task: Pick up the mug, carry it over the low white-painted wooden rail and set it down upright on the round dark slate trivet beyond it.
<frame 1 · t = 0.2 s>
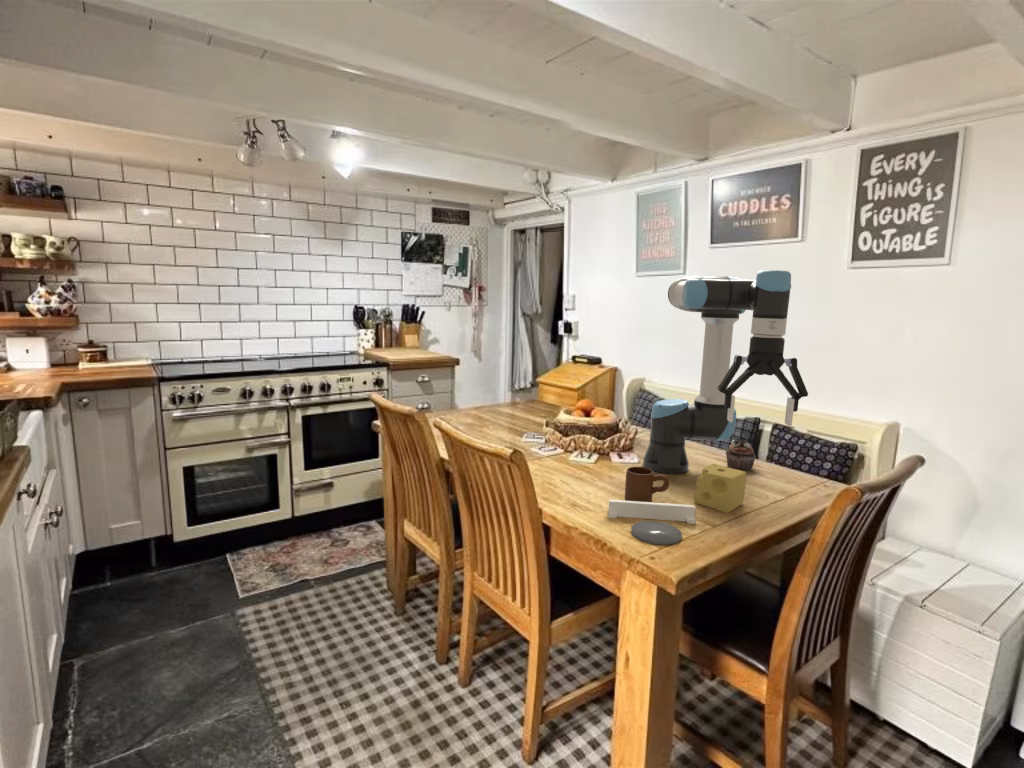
hand: (758, 422, 134), 28 cm above the table, fingers open, 13 cm apart
mug: (645, 504, 153), on the table
rail: (650, 517, 144), on the table
cupcake: (739, 468, 190), on the table
trivet: (656, 533, 134), on the table
cheese: (719, 504, 155), on the table
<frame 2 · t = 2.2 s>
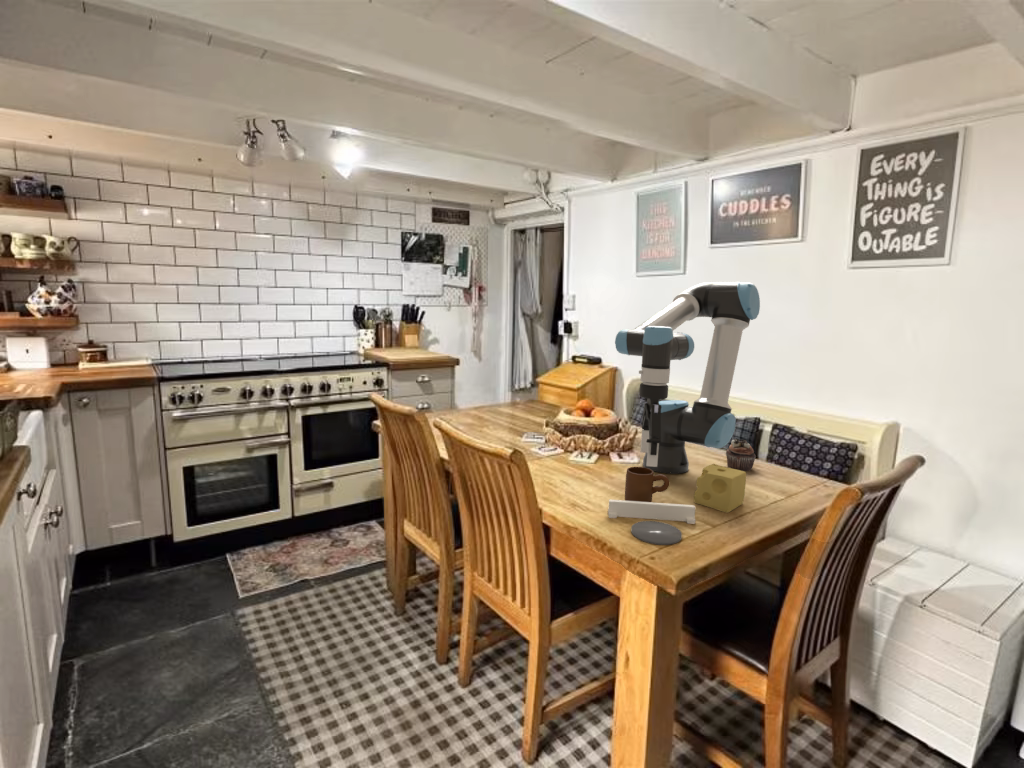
hand: (648, 459, 151), 13 cm above the table, fingers open, 13 cm apart
nothing on the table moved.
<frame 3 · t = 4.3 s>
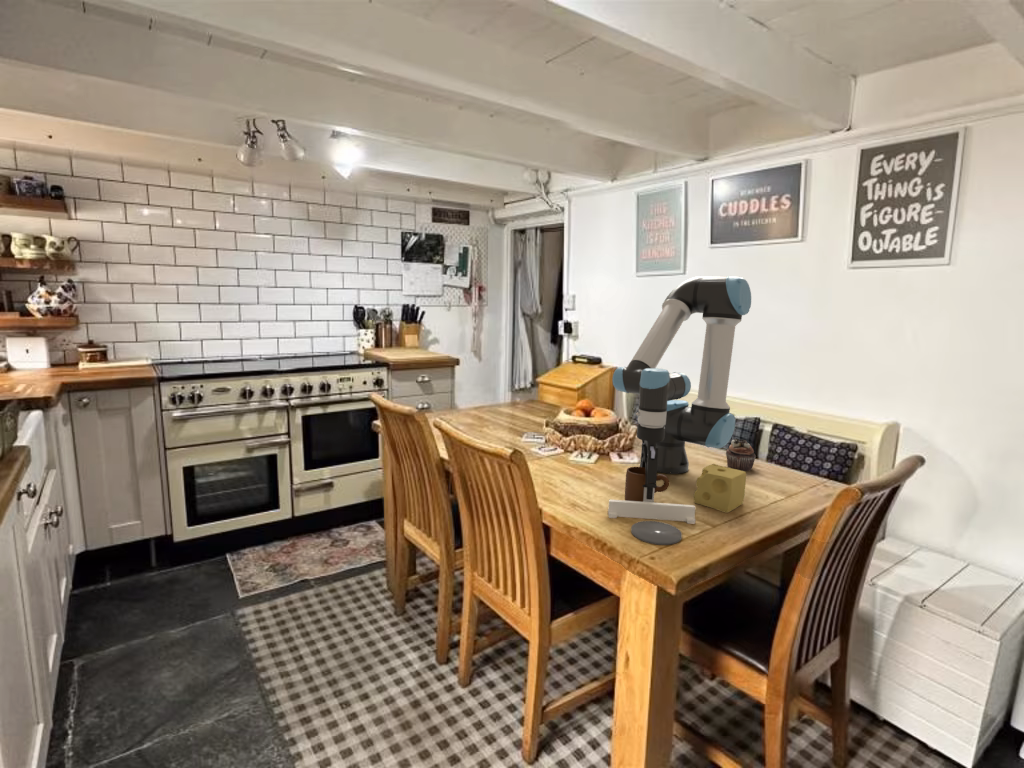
hand: (645, 502, 153), 0 cm above the table, fingers open, 9 cm apart
mug: (645, 504, 153), on the table, touching gripper
everything else where it was.
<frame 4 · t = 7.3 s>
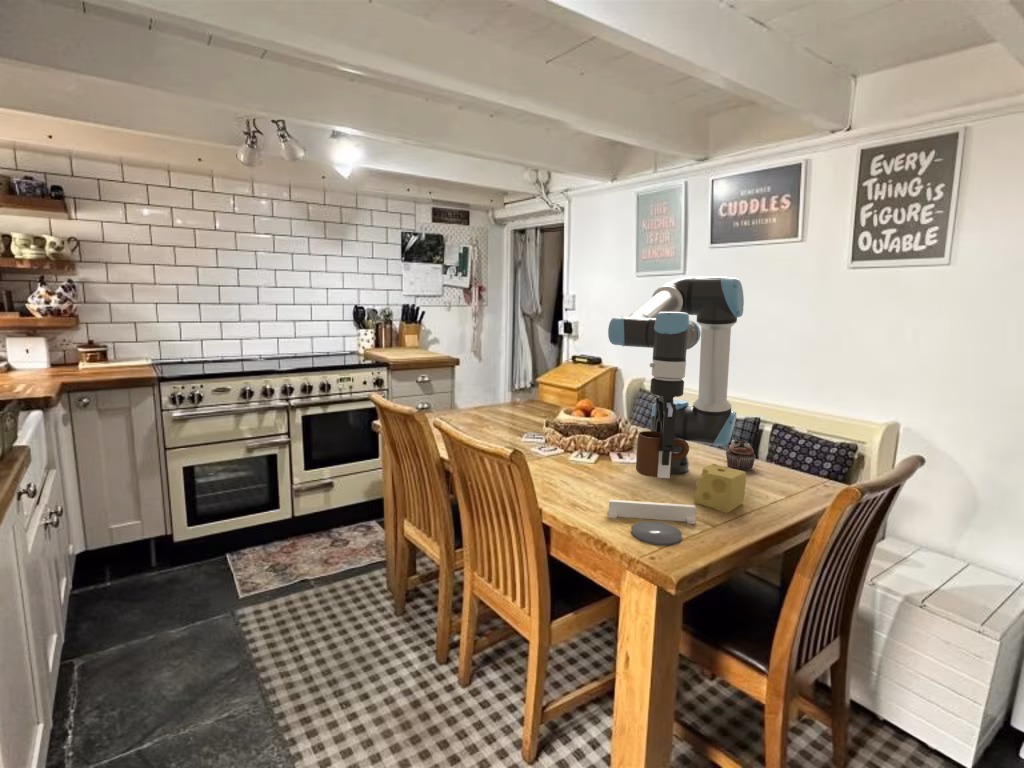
hand: (660, 471, 131), 16 cm above the table, fingers closed on mug, 7 cm apart
mug: (660, 474, 131), point 15 cm above the table, touching gripper
everything else where it was.
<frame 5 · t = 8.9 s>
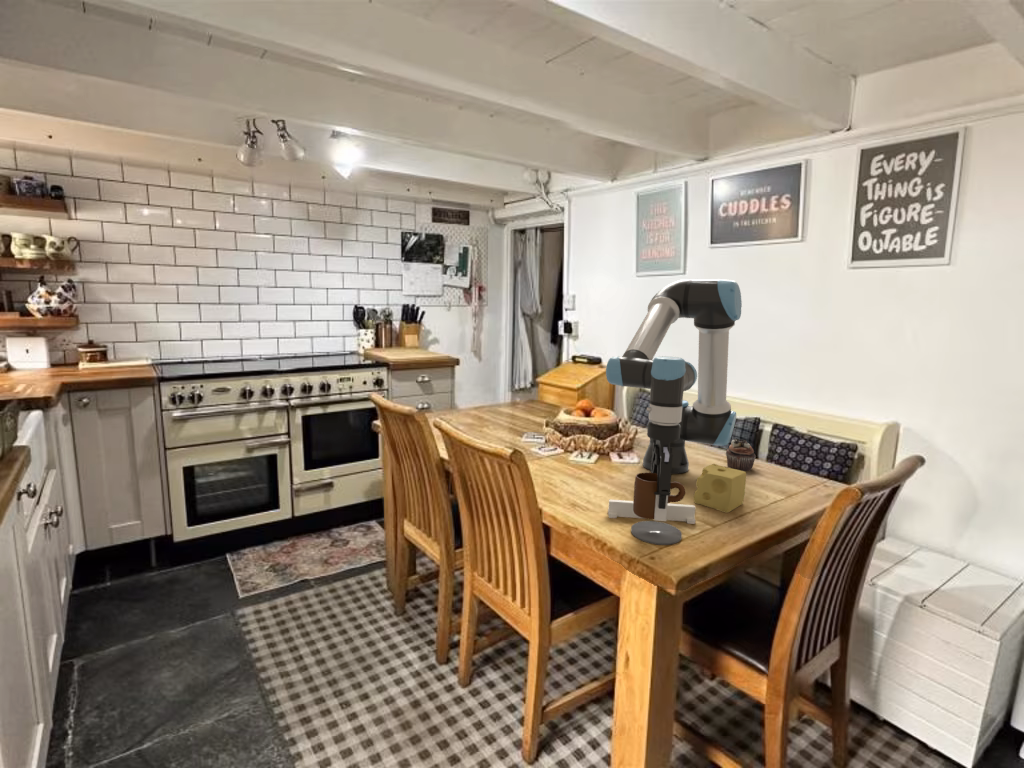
hand: (657, 513, 133), 5 cm above the table, fingers closed on mug, 7 cm apart
mug: (657, 516, 132), point 5 cm above the table, touching gripper
everything else where it was.
when the fingers open (2 cm above the table, at t = 10.1 s): mug stays where it is, resting on trivet.
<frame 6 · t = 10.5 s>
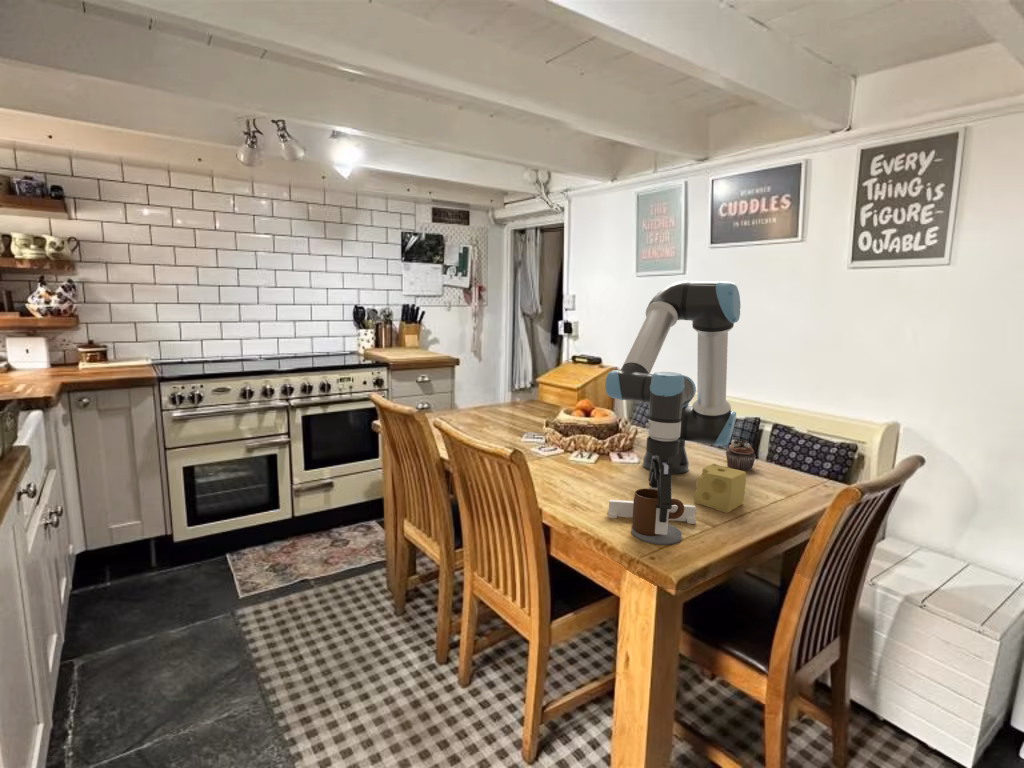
hand: (656, 522, 133), 3 cm above the table, fingers open, 12 cm apart
mug: (656, 532, 133), point 1 cm above the table, touching trivet
everything else where it was.
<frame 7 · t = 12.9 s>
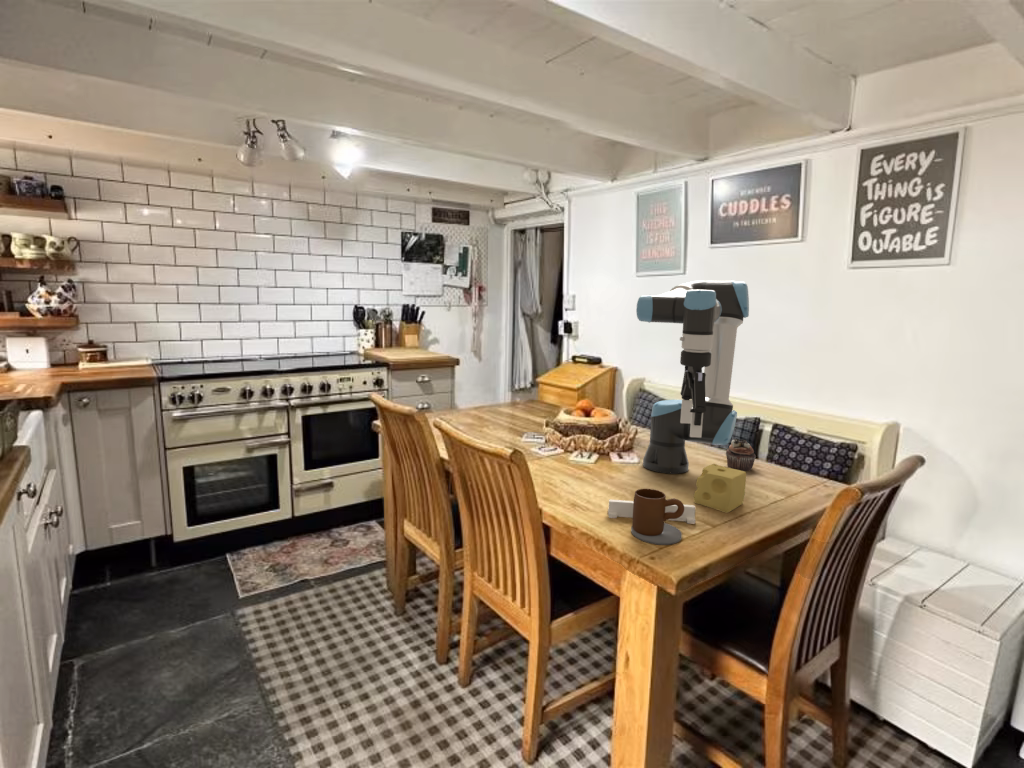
hand: (690, 429, 145), 23 cm above the table, fingers open, 13 cm apart
nothing on the table moved.
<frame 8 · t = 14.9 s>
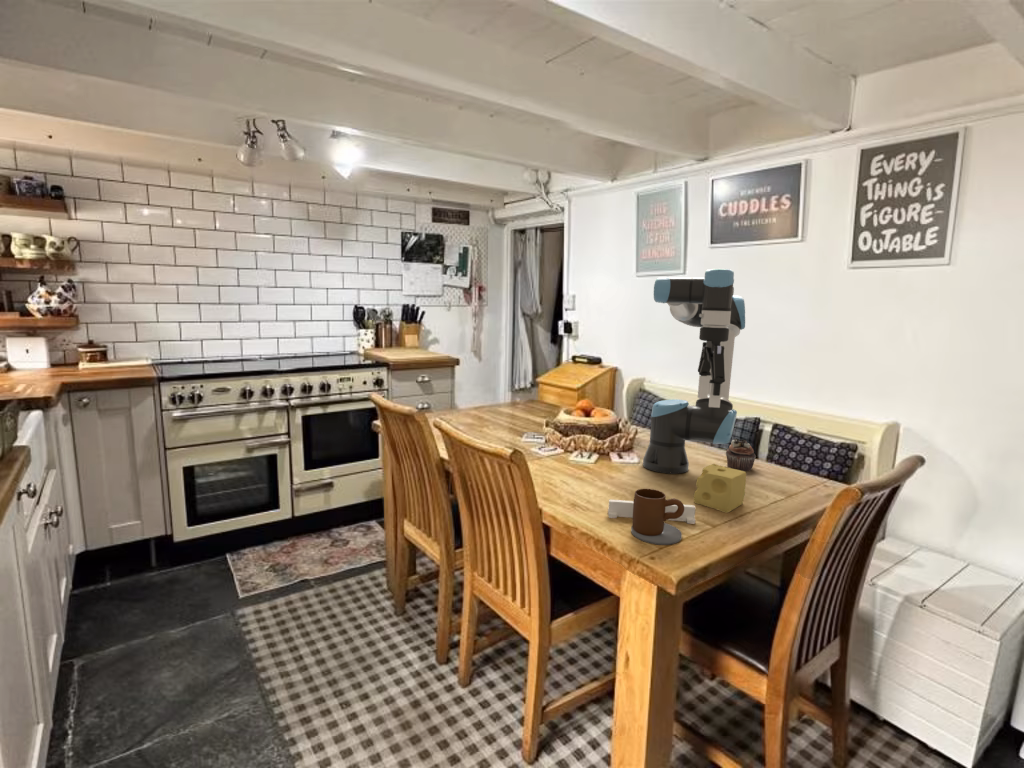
hand: (708, 402, 153), 29 cm above the table, fingers open, 13 cm apart
nothing on the table moved.
at the end: mug 0.6 cm from the trivet (horizontally); mug tilted 0°; mug point 0.6 cm above the table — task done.
